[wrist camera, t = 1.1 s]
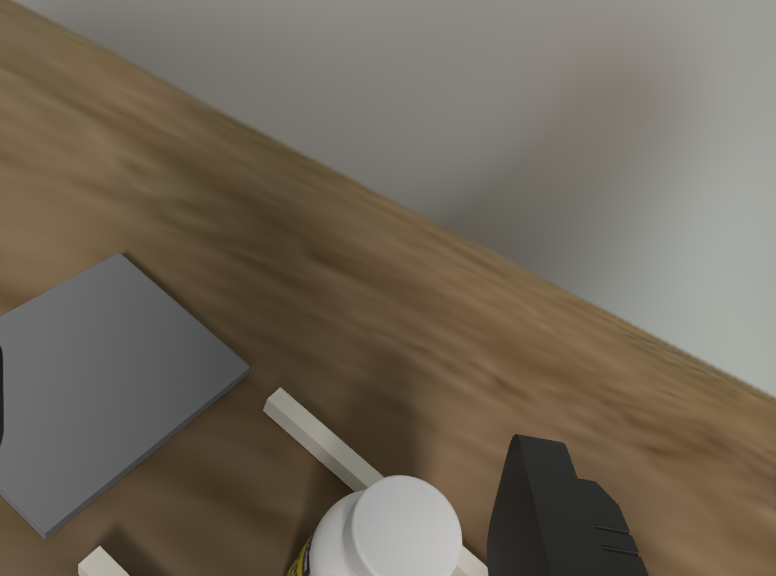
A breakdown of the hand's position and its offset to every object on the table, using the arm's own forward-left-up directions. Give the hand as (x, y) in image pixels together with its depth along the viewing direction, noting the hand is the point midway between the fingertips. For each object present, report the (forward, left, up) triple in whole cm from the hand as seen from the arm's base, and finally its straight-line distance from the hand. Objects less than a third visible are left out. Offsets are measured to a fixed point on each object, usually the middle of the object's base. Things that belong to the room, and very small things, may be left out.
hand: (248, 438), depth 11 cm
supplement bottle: (+3, +7, -22) cm, 23 cm away
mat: (-13, +7, -21) cm, 26 cm away
